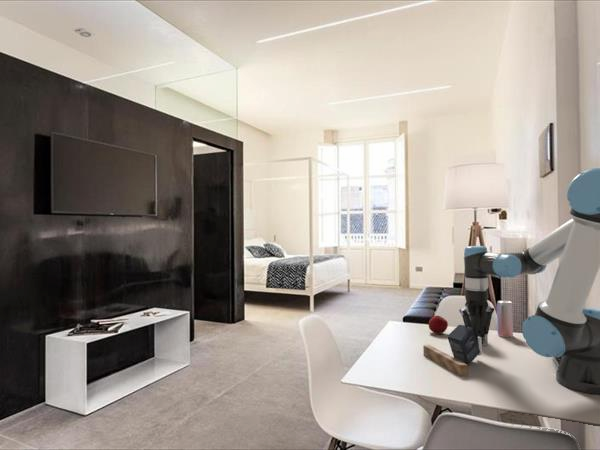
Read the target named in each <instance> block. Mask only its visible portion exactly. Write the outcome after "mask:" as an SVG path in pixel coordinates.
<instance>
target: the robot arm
mask: <svg viewBox="0 0 600 450" xmlns="http://www.w3.org/2000/svg"><path fill="white" fill-rule="evenodd" d="M566 199H567V201H568V204H569V206H570V208H571V209H570V211H569V216H570V218H571V219H570V220H568V221H567V222H565V223H564V224H562V225H560V226H558V228H556V229H554V230H553V231H551V232H550V233H549V234H547V235H546V236H544V237H543V238H542V239H540V240H538V241H537V242H535V243H534V244H533V245H531V246H530V247H528V248H526V249H525V250H523V251H522V252H511V253H510V252H508V253H507V252H506V253H503V252H502V253H498V252H497V253H494V252H492V253H491V252H489V251H488V248H487V246H484V245H470V246H469V245H468V246H465V248H464V253H463V259H464V260H463V261H464V262H463V263H464V287H465V289H464V293H465V294H464V297H465V304H464V305H465V306H464V307H463V308H459V310H458V311H459V313H460V314H461V317H462V321H463V325H464V326H469V327H472V328H473V330H474V334H475V337H476V340H477V343H478V346H479V350H480V353H479V354H478V356H481V357H482V356H483V346H484V345H483V337H485V335H487V334H489V331H490V328H491V327H490V326H491V323H492V316H493V313H494V311H495V308H494V307H493V306H492V307H491V306H490V305H489V303H488V301H489V289H488V288H489V280H488V279H489V277H488V275H490V276H496V277H502V278H510V279H511V278H515V277H517V276H520V275H522V276H523V275H524V276H525V275H536V274H540V273H542V272H544V271H545V270H546V268H547V267H548V265H549V264H550V263H552V262H554V261H556V260H557V259H559V258H560V261H559V264H558V267H557V268H556V273H555V276H554V279H553V281H552V284H551V287H550V289H549V293H548V294H547V295H548V296H547V299H545V300H542V301H540V302H538V305H537V308H536V310H535V314H534V315H530V316H528V317H526V318H525V319H524V321H523V323H522V324H521V325H522V326H521V333H522V336H523V339H524V340H525V343H526V344H527V346H528V347H529V348H530V349H531V350H532V351H533V352H534V353H536V355H539V356H541V357H545V358H559V357H561V358H560V361H559V364H558V366H557V369H556V371H555V379H556V381H557V382H558V383H559V384H560V385H562V386H564V387H567V388H569V389H571V390H575V391H579V392H582V393H588V394H593V395H600V309H596V308H592V307H585V306H586V303H587V300H588V299H589V296H590V293H591V291H592V288H593V285H594V283H595V280H596V277H597V275H598V273H599V269H600V167H594V168H590V169H587V170H585V171H582V172H581V173H579V174H577V176H574V178H573V179H572V180H571V182H570V183H569V186H568V188H567V192H566ZM468 311H469V312H468ZM468 313H469V314H468ZM469 315H470V317H469ZM470 319H471V321H470ZM478 356H477V357H478Z"/></svg>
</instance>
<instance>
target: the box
mask: <svg viewBox="0 0 600 450" xmlns="http://www.w3.org/2000/svg"><path fill="white" fill-rule="evenodd" d="M446 337H447V340H448V343H449V347H450V350H451V352H452V355H453V356H452V357H454V358H456V359H457V360H459V361H461V362H463V363H465V364H467V366H469V365H471V363H472V362H473V361H474V360H475V359H476V358H477V357H478V354H479V353H480V350H479V346H478V343H477V340H476V337H475V334H474V330H473V328H472V327H469V326H465V325H464V324H458V325H457V326H456V327H455V328H454V329H453V330H452V331H451V332H449V334H448V335H447V336H446Z"/></svg>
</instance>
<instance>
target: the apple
mask: <svg viewBox="0 0 600 450" xmlns="http://www.w3.org/2000/svg"><path fill="white" fill-rule="evenodd" d="M448 326H449V325H448V320H446V319H445V318H444V317H442V316H441V315H434V316H432V317H431V318H430V319H429V321H428V329H429V330H430V331H431V332H432V333H434V334H437V335H440V334H441V335H442V334H443V333H444V332H446V330H447V329H448Z"/></svg>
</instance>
